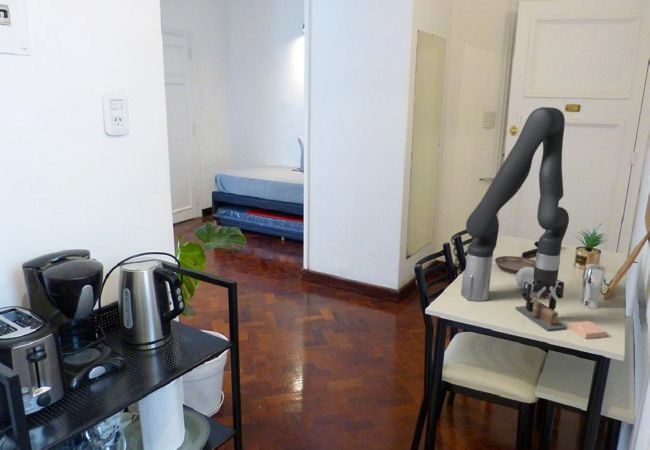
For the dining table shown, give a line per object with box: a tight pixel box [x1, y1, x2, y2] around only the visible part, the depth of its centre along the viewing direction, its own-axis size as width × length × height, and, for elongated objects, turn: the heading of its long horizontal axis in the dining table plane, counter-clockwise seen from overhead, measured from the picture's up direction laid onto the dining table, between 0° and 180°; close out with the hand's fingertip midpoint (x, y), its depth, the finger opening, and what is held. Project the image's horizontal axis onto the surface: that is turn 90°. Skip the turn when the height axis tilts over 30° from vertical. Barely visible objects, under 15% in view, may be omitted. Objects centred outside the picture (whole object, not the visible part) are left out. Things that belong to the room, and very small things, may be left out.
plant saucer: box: [494, 255, 535, 275], centre depth 223 cm, size 21×21×3 cm
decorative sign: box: [521, 240, 539, 259], centre depth 245 cm, size 27×2×10 cm, turn 127°
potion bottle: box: [514, 267, 549, 299], centre depth 196 cm, size 9×10×15 cm
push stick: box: [524, 296, 559, 326], centre depth 172 cm, size 2×14×4 cm, turn 14°
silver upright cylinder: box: [579, 263, 606, 310], centre depth 183 cm, size 7×7×15 cm
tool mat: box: [514, 305, 567, 332], centre depth 172 cm, size 7×18×1 cm, turn 13°
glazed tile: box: [567, 320, 608, 340], centre depth 163 cm, size 8×2×8 cm
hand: (540, 310), depth 172 cm, fingers open, 8 cm apart
